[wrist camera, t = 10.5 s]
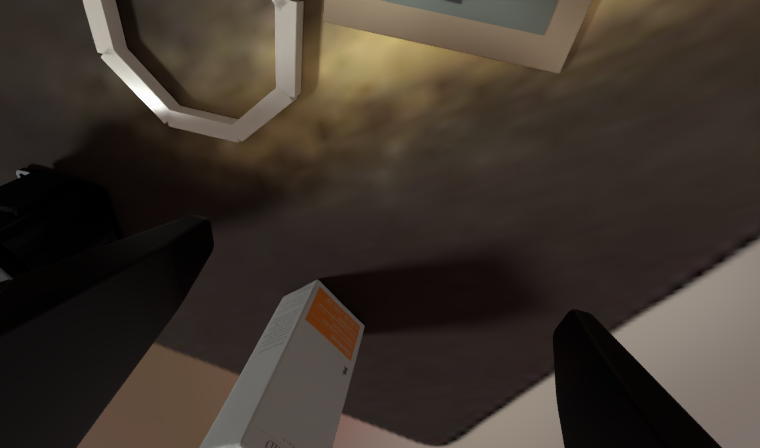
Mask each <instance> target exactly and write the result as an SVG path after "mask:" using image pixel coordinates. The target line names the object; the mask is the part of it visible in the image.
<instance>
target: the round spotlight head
mask: <svg viewBox="0 0 760 448" xmlns="http://www.w3.org/2000/svg"><path fill="white" fill-rule="evenodd" d="M444 1H449V2H453V3H458V4H462V1H463V0H444Z"/></svg>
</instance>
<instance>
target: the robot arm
mask: <svg viewBox="0 0 760 448" xmlns="http://www.w3.org/2000/svg"><path fill="white" fill-rule="evenodd" d="M16 175H17V177H18V179H16V180H13V181H11V182H9V183H7V184H5V185H2V186H0V448H77V446H78V445H79V444H80V442H81V441H82V439H83V438H84V436H85V435H86V434H87V432H88V431H89V430H90V429H91V427H92V426H93V424H94V423H95V421H96V420H97V419H98V418H99V416H100V415H101V413H102V412H103V411H104V409H105V408H106V407H107V405H108V404H109V403H110V401H111V400H112V399H113V397H114V396H115V394H116V393H117V392H118V390H119V389H120V388H121V386H122V384H124V382H125V381H126V379H127V378H128V377H129V375H130V374H131V373H132V371H133V370H134V369H135V367H136V366H137V364H138V363H139V362H140V360H141V359H142V358H143V356H144V355H145V354H146V352H147V351H148V349H149V348H150V347H151V345H152V344H153V343H154V341H155V340H156V339H157V337H158V336H159V335H160V333H161V332H162V330H163V329H164V328H165V326H166V325H167V324H168V322H169V321H170V320H171V318H172V317H173V315H174V314H175V313H176V311H177V310H178V308H179V307H180V306H181V304H182V303H183V301H184V300H185V298H186V296H187V295H188V293H189V291H190V289H191V288H192V286H193V284H194V283H195V281H196V279H197V277H198V276H199V274H200V272H201V270H202V269H203V267H204V265H205V264H206V262H207V260H208V258H209V257H210V255H211V253H212V251H213V247H214V241H213V234H212V228H211V222H210V220H209V219H207V218H205V217H201V216H197V215H189V216H186V217H183V218H181V219H178V220H175V221H172V222H169V223H166V224H164V225H161V226H158V227H155V228H152V229H149V230H147V231H144V232H141V233H138V234H135V235H132V236H130V237H127V238H124V239H122V237H121V234H120V232H119V229H118V226H117V223H116V220H115V217H114V215H113V212H112V209H111V206H110V203H109V200H108V198H107V195H106V192H105V191H104V190H103V189H102V188H101V187H99V186H96V185H92V184H88V183H84V182H80V181H76V180H72V179H68V178H64V177H60V176H56V175H52V174H48V173H44V172H40V171H36V170H32V169H28V168H22V169H19V170H17V171H16ZM553 351H554V368H555V385H556V397H557V404H558V412H559V418H560V424H561V429H562V435H563V441H564V446H565V448H722V447H721V446H720V445H719V444H718V443H717V442H716V441H715V440H714V439H713V438H712V437H711V436H710V435H709V434H708V433H707V432H706V431H705V430H704V429H703V428H702V427H701V426H700V425H699V424H698V423H697V422H696V421H695V420H694V419H693V418H692V417H691V416H690V415H689V414H688V412H687V411H686V410H685V409H684V408H682V406H681V405H680V404H679V403H678V402H677V401H676V400H675V399H674V398H673V397H672V396H671V395H670V394H669V393H668V392H667V391H666V390H665V389H664V388H663V387H662V386H661V385H660V384H659V383H658V382H657V381H656V380H655V379H654V378H653V377H652V376H651V375H650V374H649V373H648V372H647V371H646V369H645V368H643V366H642V365H641V364H640V363H639V362H638V361H637V360H636V359H635V358H634V357H633V356H632V355H631V354H630V353H629V352H628V351H627V350H626V349H625V348H624V347H623V346H622V345H621V344H620V343H619V342H618V341H617V340H616V339H615V338H614V337H613V336H612V335H611V334H610V333H609V332H608V330H607V329H606V328H605V327H604V326H603V325H602V324H601V323H600V322H599V321H598V320H597V319H596V318H595V317H594V316H593V315H592V314H590V313H588V312H584V311H580V310H575V309H573V310H570V311H569V312H568V313H567V314H566V316H565V317H564V318H563V320H562V321H561V322H560V324H559V325H558V326H557V328H556V329H555V331H554V334H553Z"/></svg>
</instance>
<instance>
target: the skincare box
mask: <svg viewBox="0 0 760 448" xmlns="http://www.w3.org/2000/svg"><path fill="white" fill-rule="evenodd" d="M364 327H365V326H364V324H363V323H361V322H360V321H359V320H358V319H357V318H356V317H355V316H354V315H353V314H352V313H351V312H350V311H349V310H348V309H347V308H346V307H345V306H344V305H343V304H342V303H341V302H340V301H339V300H338V299H337V298H336V297H335V296H334V295H333V294H332V293H331V292H330V291H329V290H328V289H327V288H326V287H325V286H324V285H323V284H322V283H321V282H320V281H319V280H315V281H313V282H312V283H310V284H308V285H306V286H304V287H302V288H300V289H298V290H296V291H294V292H292V293H290V294H288V295H286V296H284V297H283V299H282V300H281V302H280V304H279V306H278V307H277V309H276V311H275V313H274V315H273V316H272V318H271V320H270V322H269V324H268V325H267V327H266V329H265V331H264V333H263V335H262V336H261V338H260V340H259V342H258V344H257V346H256V347H255V349H254V351H253V353H252V355H251V356H250V358H249V360H248V362H247V364H246V365H245V367H244V369H243V371H242V373H241V375H240V376H239V378H238V380H237V382H236V384H235V386H234V387H233V389H232V391H231V393H230V395H229V396H228V398H227V400H226V402H225V403H224V406H223V407H222V409H221V411H220V412H219V414H218V416H217V418H216V420H215V421H214V423H213V425H212V427H211V428H210V430H209V432H208V434H207V436H206V437H205V439H204V441H203V442H202V444H201V446H200V448H332V446H333V443H334V439H335V435H336V432H337V428H338V424H339V420H340V417H341V413H342V409H343V406H344V402H345V398H346V395H347V391H348V387H349V383H350V380H351V376H352V372H353V368H354V365H355V361H356V357H357V353H358V350H359V346H360V342H361V338H362V335H363V331H364Z"/></svg>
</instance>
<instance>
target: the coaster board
mask: <svg viewBox="0 0 760 448" xmlns="http://www.w3.org/2000/svg"><path fill="white" fill-rule="evenodd" d="M591 2H592V0H463V1H462V4H458V3H453V2H449V1H444V0H324V15H323V22H326V23H331V24H335V25H340V26H345V27H349V28H354V29H358V30H363V31H367V32H372V33H376V34H381V35H385V36H390V37H395V38H399V39H404V40H408V41H413V42H417V43H422V44H426V45H431V46H435V47H440V48H445V49H449V50H454V51H458V52H463V53H467V54H472V55H476V56H481V57H486V58H490V59H495V60H499V61H504V62H508V63H513V64H517V65H522V66H526V67H531V68H536V69H540V70H545V71H549V72H554V73H558V74H559V73H560V71H561V69H562V67H563V64H564V62H565V60H566V58H567V55H568V53H569V51H570V49H571V47H572V44H573V42H574V40H575V38H576V35H577V33H578V31H579V29H580V27H581V24H582V22H583V20H584V18H585V15H586V13H587V11H588V9H589V7H590V4H591Z"/></svg>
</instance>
